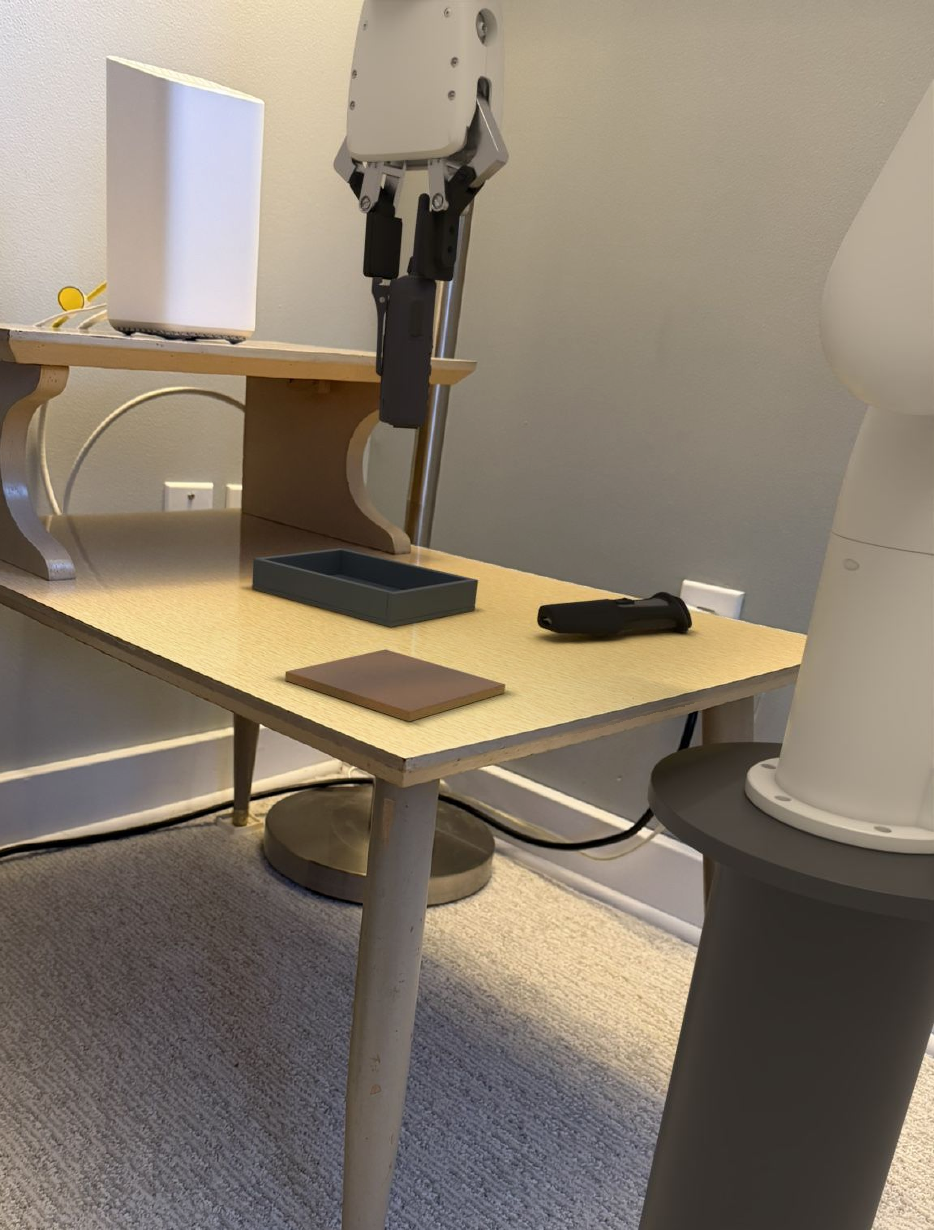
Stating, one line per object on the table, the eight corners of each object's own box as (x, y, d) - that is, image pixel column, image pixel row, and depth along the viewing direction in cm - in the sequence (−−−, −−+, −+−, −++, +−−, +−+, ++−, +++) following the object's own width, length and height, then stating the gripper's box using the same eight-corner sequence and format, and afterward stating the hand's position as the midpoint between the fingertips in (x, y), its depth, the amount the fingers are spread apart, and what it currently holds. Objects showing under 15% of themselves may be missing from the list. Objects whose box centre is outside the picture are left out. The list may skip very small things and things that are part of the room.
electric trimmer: (521, 637, 90) (526, 597, 89) (660, 622, 99) (666, 585, 97) (554, 649, 88) (560, 608, 86) (694, 633, 96) (701, 595, 95)
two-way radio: (429, 430, 81) (449, 191, 76) (366, 426, 81) (381, 186, 75) (420, 425, 86) (437, 201, 81) (360, 421, 86) (374, 196, 81)
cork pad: (504, 693, 75) (505, 684, 74) (408, 721, 67) (409, 712, 67) (384, 657, 81) (385, 649, 80) (284, 680, 73) (285, 671, 73)
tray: (474, 610, 97) (478, 579, 96) (391, 627, 89) (394, 593, 88) (338, 576, 106) (341, 547, 105) (251, 588, 98) (253, 558, 97)
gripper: (577, -38, 71) (540, 286, 77) (370, -2, 81) (352, 281, 88) (508, -76, 66) (474, 275, 72) (295, -33, 76) (282, 272, 82)
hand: (407, 275), depth 80 cm, fingers closed on two-way radio, 4 cm apart
